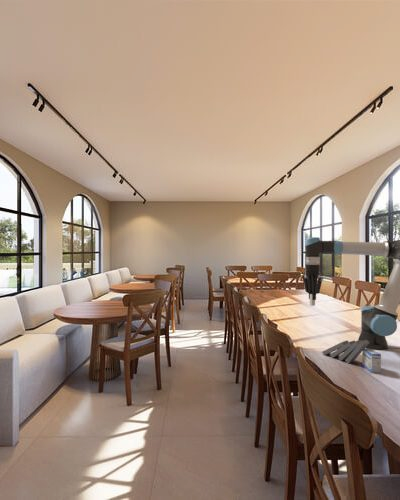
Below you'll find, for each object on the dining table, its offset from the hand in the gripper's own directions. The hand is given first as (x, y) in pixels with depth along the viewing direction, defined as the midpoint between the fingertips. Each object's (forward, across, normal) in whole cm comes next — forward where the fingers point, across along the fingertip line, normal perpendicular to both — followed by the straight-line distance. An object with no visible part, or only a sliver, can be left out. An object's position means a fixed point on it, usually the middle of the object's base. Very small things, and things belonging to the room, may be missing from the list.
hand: (312, 305), depth 172 cm
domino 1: (+24, +10, -2) cm, 26 cm away
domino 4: (+24, +24, -2) cm, 34 cm away
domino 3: (+24, +20, -2) cm, 31 cm away
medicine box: (+25, +34, -2) cm, 42 cm away
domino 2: (+24, +15, -2) cm, 28 cm away
